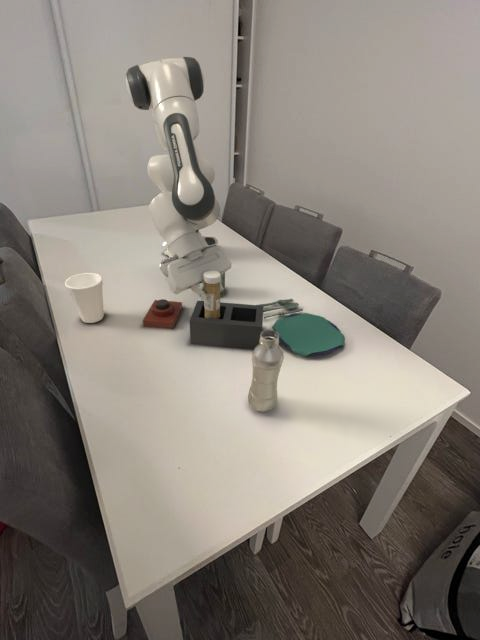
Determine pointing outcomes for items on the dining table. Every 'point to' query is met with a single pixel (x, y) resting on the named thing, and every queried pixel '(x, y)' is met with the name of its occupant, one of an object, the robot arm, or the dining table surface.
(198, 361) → the dining table surface
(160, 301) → the button
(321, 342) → the cutlery set
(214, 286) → the sprinkles bottle
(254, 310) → the dark grey hollow block
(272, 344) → the plastic bottle
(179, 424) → the dining table surface
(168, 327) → the button block
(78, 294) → the cup
